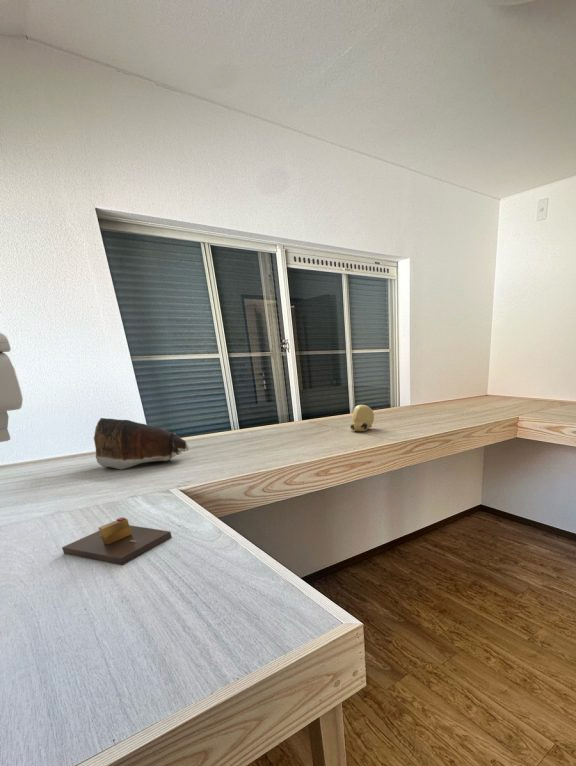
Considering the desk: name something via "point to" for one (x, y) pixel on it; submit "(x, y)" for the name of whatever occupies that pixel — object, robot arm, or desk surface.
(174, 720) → the desk surface
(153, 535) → the plate
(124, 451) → the brown tapered piece
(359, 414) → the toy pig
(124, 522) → the lock turn
